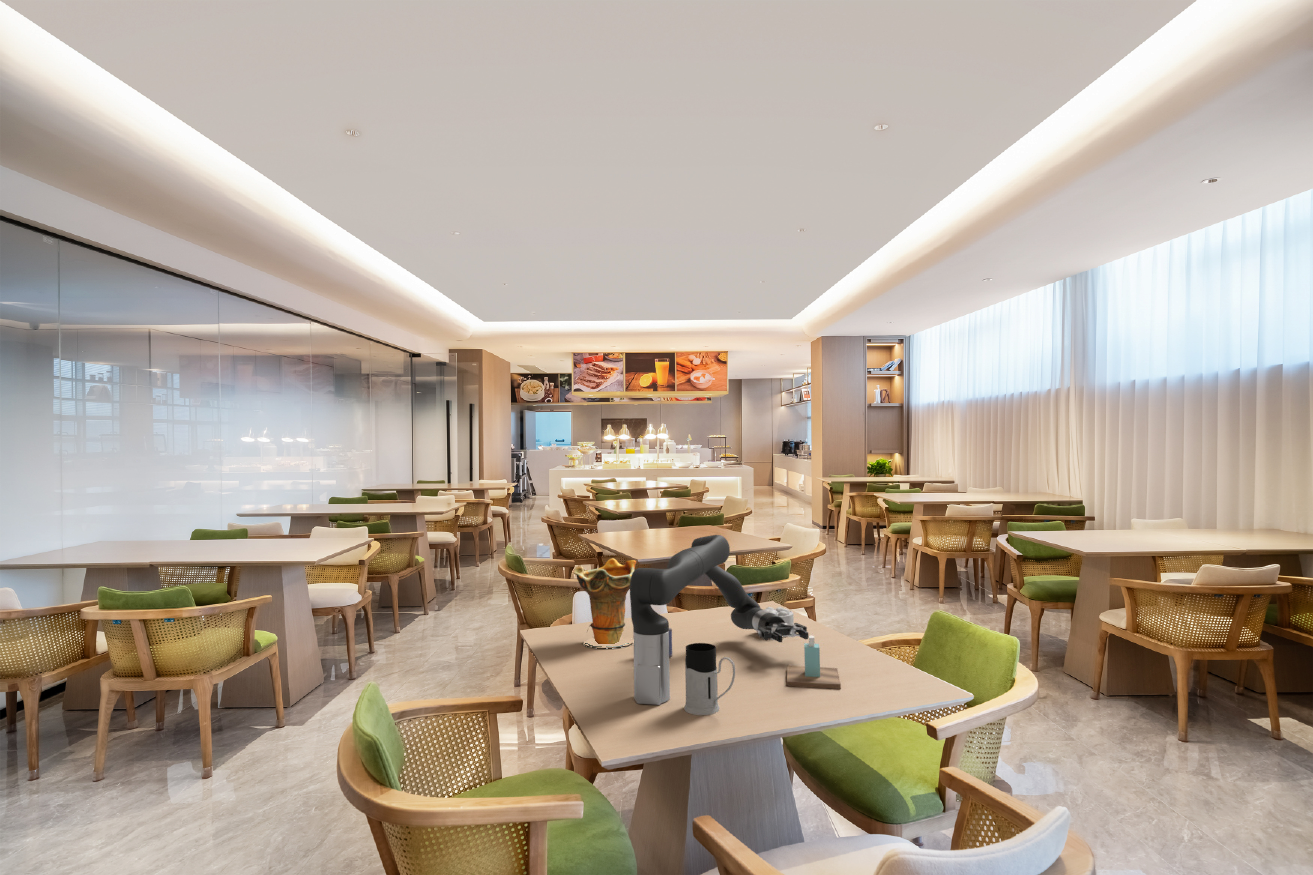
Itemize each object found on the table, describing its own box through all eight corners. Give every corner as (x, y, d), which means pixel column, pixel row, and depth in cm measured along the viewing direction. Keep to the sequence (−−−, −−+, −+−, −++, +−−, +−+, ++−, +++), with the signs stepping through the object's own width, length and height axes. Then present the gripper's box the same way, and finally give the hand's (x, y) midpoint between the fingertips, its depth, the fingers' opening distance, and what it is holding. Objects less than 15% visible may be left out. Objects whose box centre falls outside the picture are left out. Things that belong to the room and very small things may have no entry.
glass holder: (697, 699, 168) (696, 640, 169) (745, 712, 159) (744, 649, 160) (676, 709, 161) (675, 648, 162) (725, 723, 152) (724, 658, 153)
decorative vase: (561, 646, 217) (563, 561, 220) (599, 633, 238) (600, 555, 240) (615, 654, 208) (616, 564, 210) (649, 640, 228) (650, 559, 230)
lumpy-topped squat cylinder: (753, 632, 233) (752, 608, 234) (782, 627, 239) (781, 603, 240) (771, 639, 224) (770, 613, 224) (801, 634, 230) (800, 609, 230)
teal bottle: (820, 677, 180) (819, 638, 181) (805, 676, 181) (804, 638, 181) (819, 672, 184) (818, 635, 185) (804, 671, 185) (803, 634, 185)
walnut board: (840, 688, 174) (840, 684, 174) (787, 685, 177) (786, 681, 177) (837, 672, 188) (837, 667, 188) (787, 669, 191) (787, 665, 191)
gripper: (747, 614, 206) (772, 626, 190) (788, 610, 210) (815, 622, 195) (748, 638, 206) (772, 652, 190) (788, 634, 210) (815, 647, 194)
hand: (794, 637), depth 192 cm, fingers open, 8 cm apart
